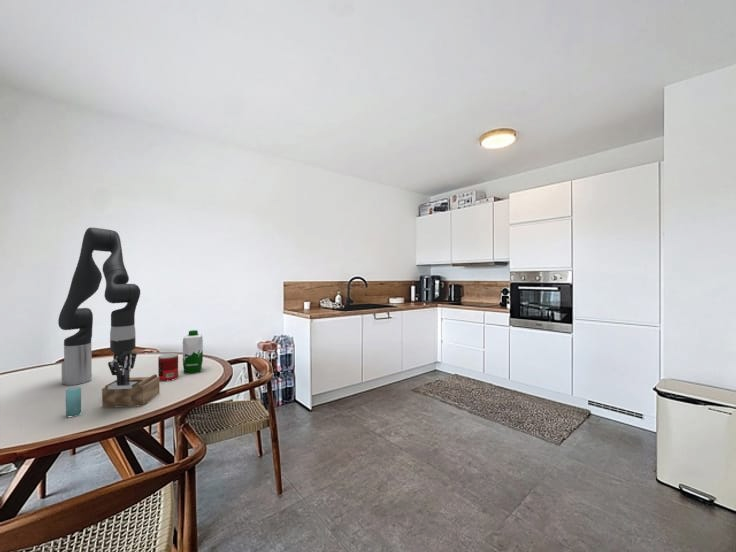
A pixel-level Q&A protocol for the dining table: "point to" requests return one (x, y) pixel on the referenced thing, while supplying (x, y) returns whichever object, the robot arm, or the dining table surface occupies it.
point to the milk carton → (192, 352)
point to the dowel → (73, 401)
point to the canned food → (168, 366)
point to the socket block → (131, 393)
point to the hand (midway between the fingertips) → (123, 383)
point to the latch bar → (126, 383)
